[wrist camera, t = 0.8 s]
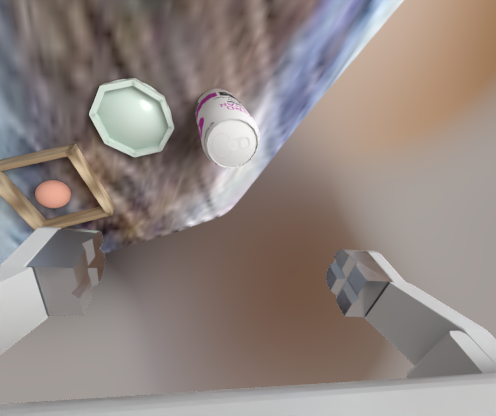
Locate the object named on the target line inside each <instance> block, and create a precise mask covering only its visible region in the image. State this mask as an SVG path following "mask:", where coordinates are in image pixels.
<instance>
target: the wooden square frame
mask: <svg viewBox="0 0 496 416" xmlns="http://www.w3.org/2000/svg"><path fill="white" fill-rule="evenodd" d="M67 156H68V158H69V159H70V160H71V162H72V163H73V165H74V166H75V168H76V169H77V171H78V172H79V174H80V175H81V177H82V178H83V180H84V181H85V183H86V184H87V186H88V187H89V189H90V190H91V192H92V193H93V195H94V196H95V198H96V199H97V201H98V202H99V203H100V205H101V206H99V207H95V208H91V209H87V210H83V211H79V212H75V213H71V214H67V215H63V216H59V217H55V218H51V219H47V220H46V219H45V218H44V217H43V216H42V215H41V214H40V212H39V211H38V210H37V209H36V208H35V207H34V206H33V205H32V204H31V202H30V201H29V200H28V199H27V198H26V197H25V196H24V195H23V194H22V192H21V191H20V190H19V189H18V188H17V187H16V186H15V185H14V184H13V183H12V181H11V180H10V179H9V178H8V177H7V176H6V175H5V174H4V173H3V171H4V170H8V169H13V168H17V167H22V166H26V165H31V164H35V163H40V162H44V161H49V160H53V159H58V158H62V157H67ZM0 195H1V196H2V197H3V198H4V199H5V200H6V201H7V202H8V203H9V204H10V205H11V206H12V207H13V208H14V209H15V210H16V212H17V213H18V214H19V215H20V216H21V217H22V218H23V219H24V220H25V221H26V222H27V223H28V224H29V225H30V226H31V227H32V228H33V229H34V230H36V229H37V228H39V227H43V226H46V227H58V228H62V227H66V226H70V225H74V224H78V223H82V222H86V221H90V220H94V219H98V218H102V217H106V216H110V215H112V214H113V211H114V208H115V205H114V204H113V202H112V201H111V199H110V197H109V196H108V194H107V193H106V191H105V190H104V188H103V186H102V185H101V183H100V182H99V180H98V178H97V177H96V175H95V174H94V172H93V170H92V169H91V167H90V166H89V164H88V162H87V161H86V159H85V158H84V156H83V154H82V153H81V151H80V150H79V148H78V147H77V145H76V143H75V144H71V145H66V146H62V147H57V148H52V149H48V150H43V151H39V152H34V153H30V154H25V155H20V156H16V157H11V158H7V159H2V160H0Z"/></svg>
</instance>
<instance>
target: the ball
mask: <svg viewBox="0 0 496 416" xmlns="http://www.w3.org/2000/svg"><path fill="white" fill-rule="evenodd" d="M35 196H36V199H37V201H38V202H39V203H40V204H42V205H43V206H45V207H48V208H59V207H62V206H64V205H66V204H67V203H68V202H69V200H70V198H71V191H70V189H69V187H68V186H67V185H66V184H64V183H63V182H60V181H57V180H48V181H45V182H43V183H41V184H40V185H39V186H38V187H37V188H36V191H35Z"/></svg>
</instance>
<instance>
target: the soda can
mask: <svg viewBox="0 0 496 416" xmlns="http://www.w3.org/2000/svg"><path fill="white" fill-rule="evenodd" d="M195 116H196V121H197V125H198V130H199V134H200V138H201V143H202V147H203V151H204V152H205V154H206V156H207V157H208V159H210V160H211V161H212V162H214V163H215V164H216V165H219V166H222V167H225V168H238V167H241V166H244V165H245V164H247V163H248V162H249V161H251V159H252V158H253V157H254V155H255V154H256V151H257V148H258V145H259V142H260V135H259V129H258V127H257V124H256V122H255V121H254V120H253V118H252V117H251V116H250V115H249V113H248V112H247V111H246V110H245V108H244V107H243V106H242V105H241V103H240V102H239V101H238V100H237V98H236V97H235V96H234V95H233V94H232V93H231V92H229V91H226V90H224V89H212V90H209V91H207V92H205V93H204V94H203V95H202V96H201V97H200V98H199V100H198V102H197V104H196V109H195Z"/></svg>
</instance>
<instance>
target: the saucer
mask: <svg viewBox="0 0 496 416" xmlns="http://www.w3.org/2000/svg"><path fill="white" fill-rule="evenodd" d="M89 116H90V118H91V120H92V121H93V123H94V125H95V127H96V129H97V130H98V132H99V134H100V136H101V138H102V140H103V141H104V143H105V144H106V145H109V146H111V147H113V148H115V149H117V150H119V151H122V152H124V153H126V154H128V155H130V156H132V157H138V156H142V155H147V154H151V153H156V152H160V151H162V150H163V148H164V146H165V144H166V142H167V141H168V139H169V137H170V135H171V133H172V132H173V130H174V123H173V120H172V115H171V111H170V109H169V106H168V104H167V102H166V99H165V97H164V96H163V95H161V94H160V93H159V92H158V91H156V90H155V89H154V88H153V87H151V86H150V85H148V84H146V83H144V82H141V81H139V80H137V79H136V78H130V79H118V80H115V81H112V82H110V83H105V84H102V85H101V86H100V87H99V90H98V92H97V95H96V97H95V100H94V102H93V105H92V107H91V110H90V113H89Z"/></svg>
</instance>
